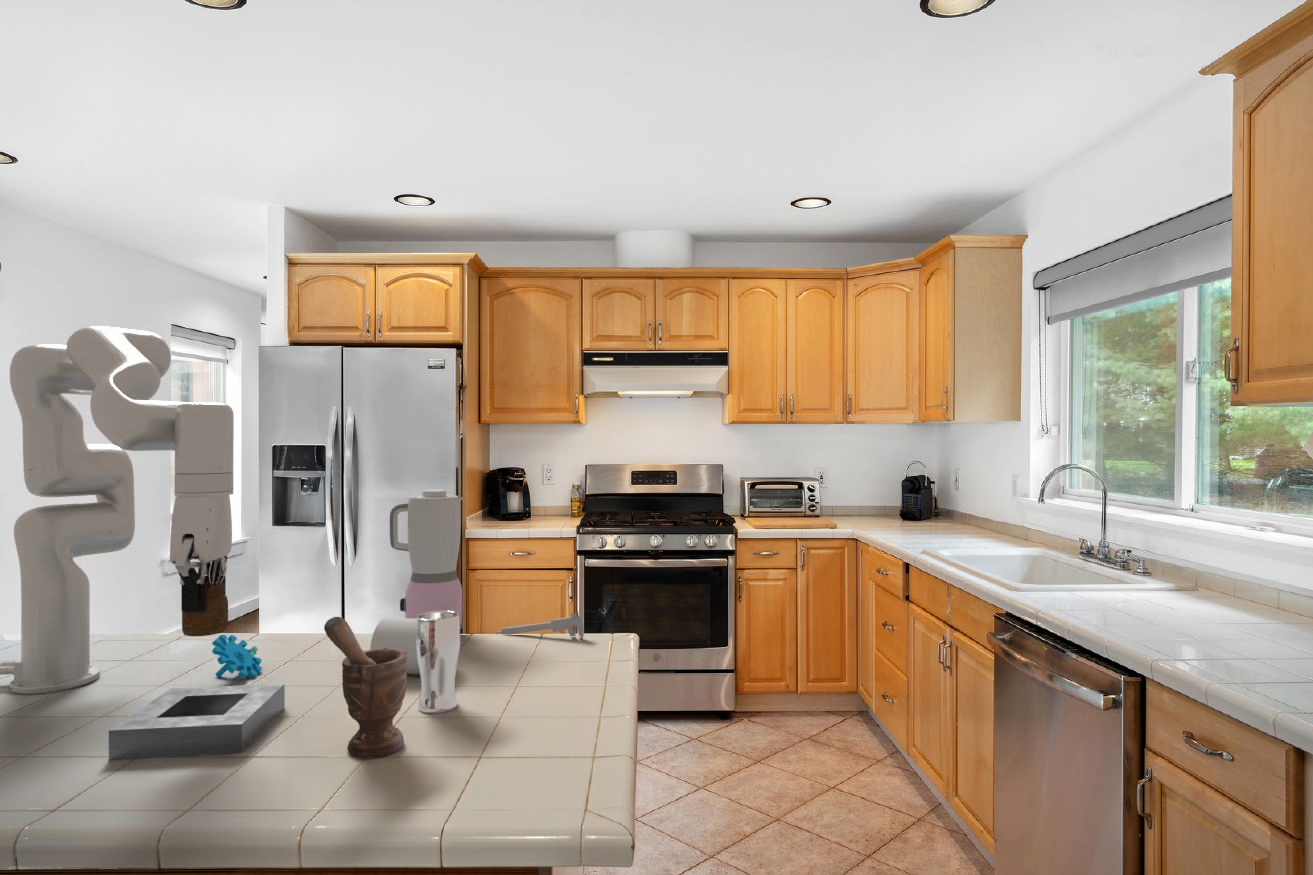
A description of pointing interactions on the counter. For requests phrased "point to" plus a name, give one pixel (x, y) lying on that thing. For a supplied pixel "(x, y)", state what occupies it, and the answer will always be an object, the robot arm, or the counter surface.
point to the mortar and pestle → (370, 691)
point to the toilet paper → (398, 639)
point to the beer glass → (437, 659)
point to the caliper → (551, 626)
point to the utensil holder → (209, 612)
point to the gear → (236, 657)
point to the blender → (431, 552)
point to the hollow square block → (197, 721)
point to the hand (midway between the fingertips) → (204, 605)
